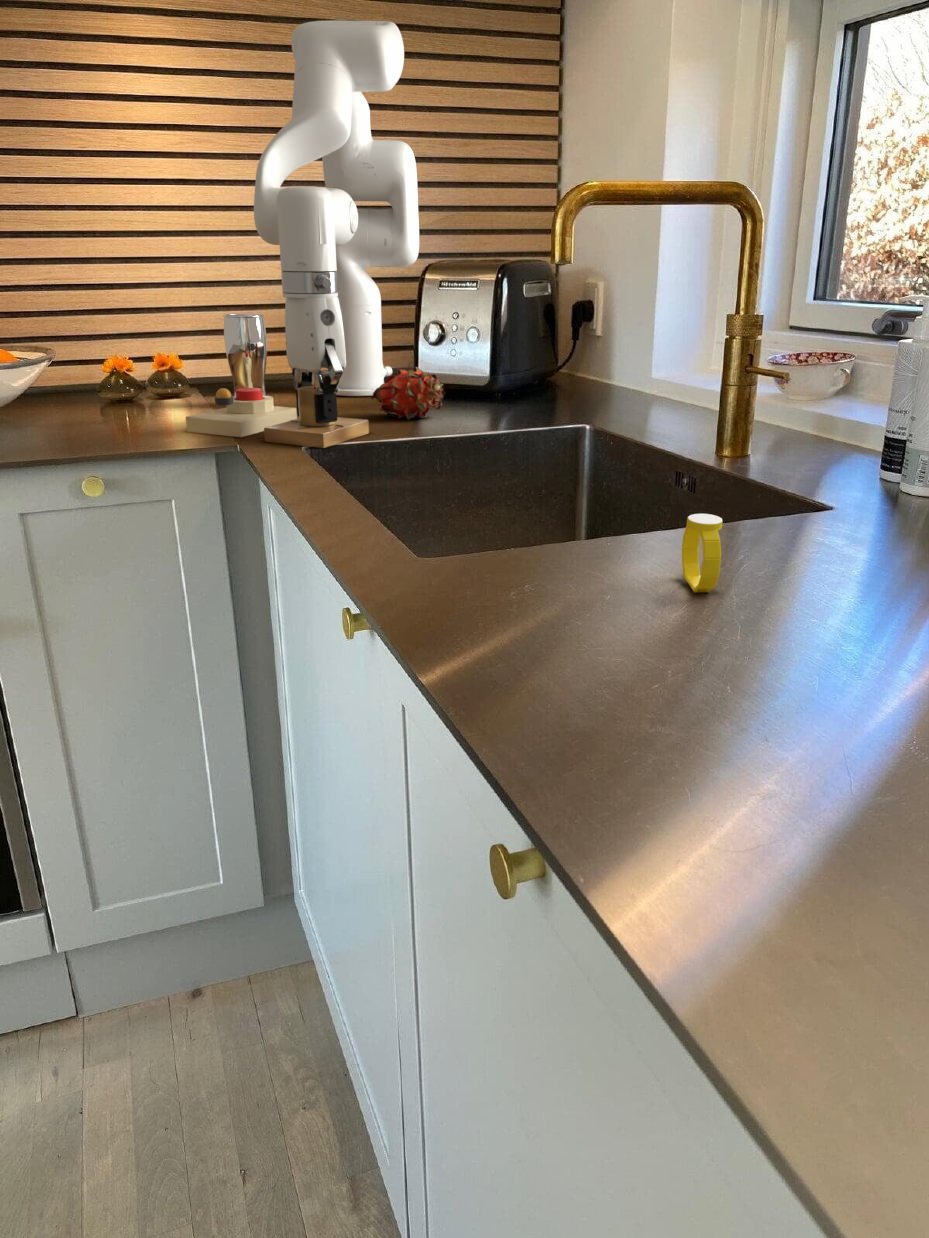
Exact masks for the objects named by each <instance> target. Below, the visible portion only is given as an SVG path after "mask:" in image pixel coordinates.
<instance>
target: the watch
mask: <svg viewBox="0 0 929 1238" xmlns="http://www.w3.org/2000/svg"><path fill="white" fill-rule="evenodd" d="M722 528H723V518H722V517H720V516H719V515H715V514H709V513H693V514H690V515H689V516H687V518H686V526H685V529H684V531H683V535H682V544H681V547H682V548H681V568H682V574H683V580H685V581H686V582H687V584H688V585H689V587H690V588H691V589H692V592H693V593H695V594H696V593H710V592H711V591H713V590H714V589H715V588H716V586H717V583H718V580H719V577H720V573H721V564H722V545H721V544H722V543H721V538H720V533H719V531H721V530H722ZM700 540H701V541H700ZM700 542H702V545H701V546H702V558H703V559H702V564H701V565H702V566H701V568H700V564H699V560H700V559H699V554H700V553H699V547H700ZM700 569H701V570H700Z"/></svg>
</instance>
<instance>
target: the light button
mask: <svg viewBox="0 0 929 1238" xmlns="http://www.w3.org/2000/svg"><path fill="white" fill-rule="evenodd" d="M262 399H263V392H262V389H261V388H240V389H236V400H239V401H255V400H262Z"/></svg>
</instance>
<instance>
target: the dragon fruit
mask: <svg viewBox="0 0 929 1238" xmlns="http://www.w3.org/2000/svg"><path fill="white" fill-rule="evenodd" d="M414 369H415V371H413V369H409V370H407V369H400V368H399V369H397V370H396V372H397V374H394V375H393V374H392V375H391V376H388V377H387V379H386V381H385V382H384V384H382V385H381V386H380V387H379V388H377V389H376V390H375V391H374V392H373V395H372V396H370V399H371V401H373V400H374V399H376V401H378V402H380V403H381V404H379V407H378V408H379V411H380V412H383V413H385V414H386V416H388V417H393V418H396V419H397V418H398V419H400V418H404V417H405V418H406V420H407V421H410V420H411V419H412V418H415V417H416V416H417V418H420V419H425V418H427V417H428V412H429V411H430V410H432V411H433V410H434V411H437V410H440V409H441V407H443V402H442V401H443V399H444V396H445V394H446V392H447V391H446V389H445V388H444V384H443V383H442V382H441V381H440V380H439V379H438V377H437V375H436V374H435V373H430V372H428V371H423V370H422V369H421V368H419V367H417V366H415V367H414Z"/></svg>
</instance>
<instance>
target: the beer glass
mask: <svg viewBox="0 0 929 1238" xmlns="http://www.w3.org/2000/svg"><path fill="white" fill-rule="evenodd" d="M267 337H268V336H267V329H266V323H265V315H264V313H226V314H224V315H223V339H224V341H223V342H224V347H225V348H224V349H225V353H226V354H225V355H226V359H227V363H228V367H229V370H230V374H231V377H232V384H233V397H234V396H236V389H240V388H261V389H262V392H263V395H264V396H268V394H267V390H266V370H267V360H268V359H267V358H268V338H267Z"/></svg>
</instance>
